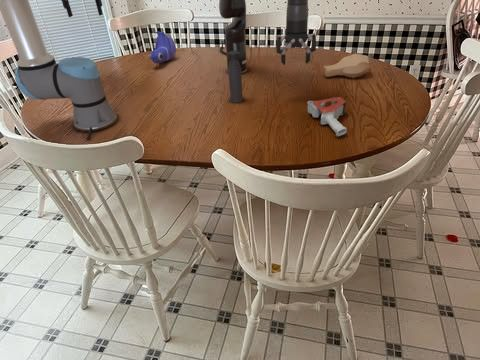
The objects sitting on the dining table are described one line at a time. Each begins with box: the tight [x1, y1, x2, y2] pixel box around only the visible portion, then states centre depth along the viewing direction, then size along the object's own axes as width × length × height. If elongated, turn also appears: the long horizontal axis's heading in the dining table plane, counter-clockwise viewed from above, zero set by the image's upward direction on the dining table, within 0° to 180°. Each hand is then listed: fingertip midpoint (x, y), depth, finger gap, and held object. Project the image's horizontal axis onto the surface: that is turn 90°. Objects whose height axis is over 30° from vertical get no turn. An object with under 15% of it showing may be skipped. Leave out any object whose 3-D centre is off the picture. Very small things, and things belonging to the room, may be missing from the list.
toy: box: [149, 30, 177, 68], centre depth 183 cm, size 10×17×25 cm
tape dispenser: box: [307, 96, 348, 137], centre depth 123 cm, size 18×5×20 cm
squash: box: [322, 52, 370, 79], centre depth 156 cm, size 11×20×9 cm, turn 92°
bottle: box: [227, 59, 244, 104], centre depth 138 cm, size 5×5×18 cm
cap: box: [228, 51, 240, 60], centre depth 133 cm, size 4×4×2 cm
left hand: (85, 15), depth 157 cm, fingers open, 13 cm apart
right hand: (295, 63), depth 134 cm, fingers open, 8 cm apart
